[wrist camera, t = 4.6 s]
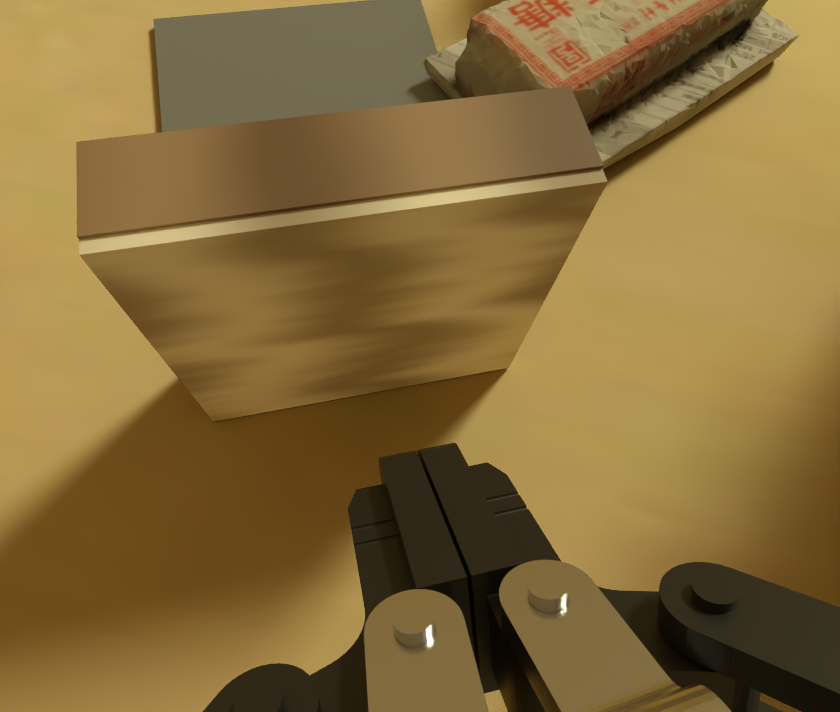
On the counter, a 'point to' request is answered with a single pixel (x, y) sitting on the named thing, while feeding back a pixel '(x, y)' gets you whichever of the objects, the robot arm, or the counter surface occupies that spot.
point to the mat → (292, 62)
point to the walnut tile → (339, 242)
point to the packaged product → (615, 59)
